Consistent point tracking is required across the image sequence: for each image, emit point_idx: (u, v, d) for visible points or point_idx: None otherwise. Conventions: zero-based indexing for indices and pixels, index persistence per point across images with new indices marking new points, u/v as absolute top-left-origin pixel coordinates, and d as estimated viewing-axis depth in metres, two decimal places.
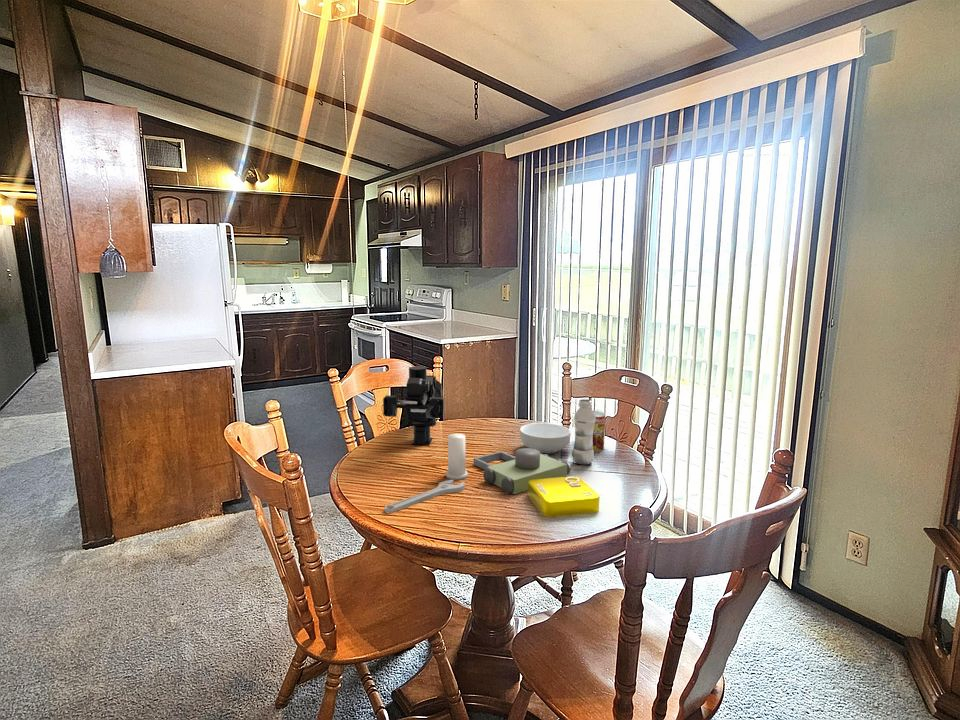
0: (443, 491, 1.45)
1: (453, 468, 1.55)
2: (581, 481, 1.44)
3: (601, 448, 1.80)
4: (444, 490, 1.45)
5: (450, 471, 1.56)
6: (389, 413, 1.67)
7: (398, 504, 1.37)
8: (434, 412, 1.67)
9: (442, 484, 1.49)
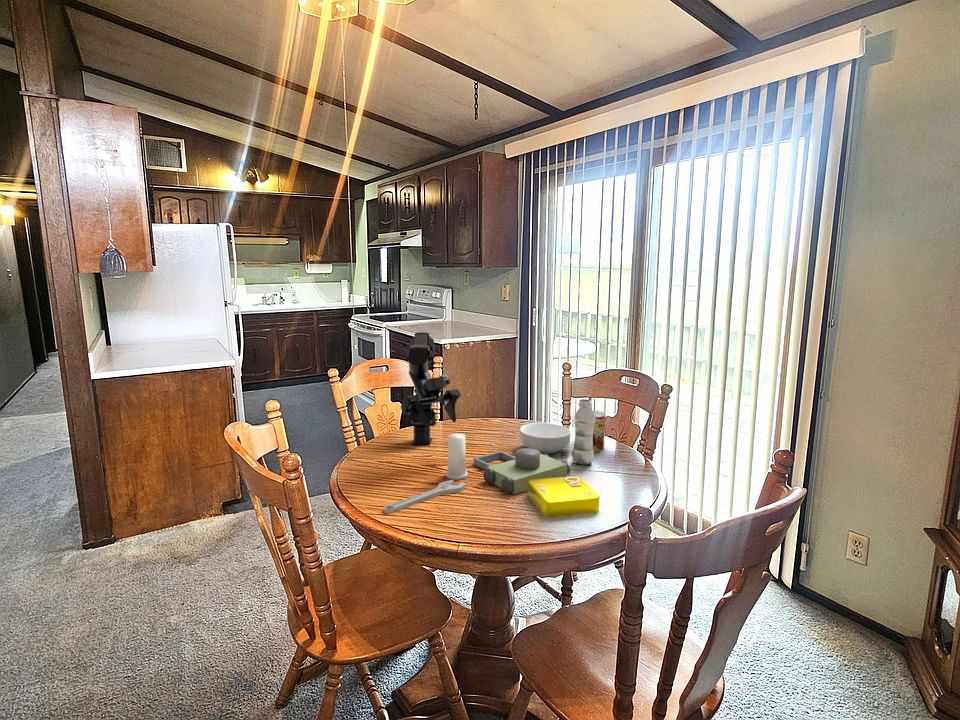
0: (443, 491, 1.45)
1: (453, 468, 1.55)
2: (581, 481, 1.44)
3: (601, 448, 1.80)
4: (444, 490, 1.45)
5: (450, 471, 1.56)
6: (410, 413, 1.61)
7: (397, 504, 1.37)
8: None
9: (442, 484, 1.49)
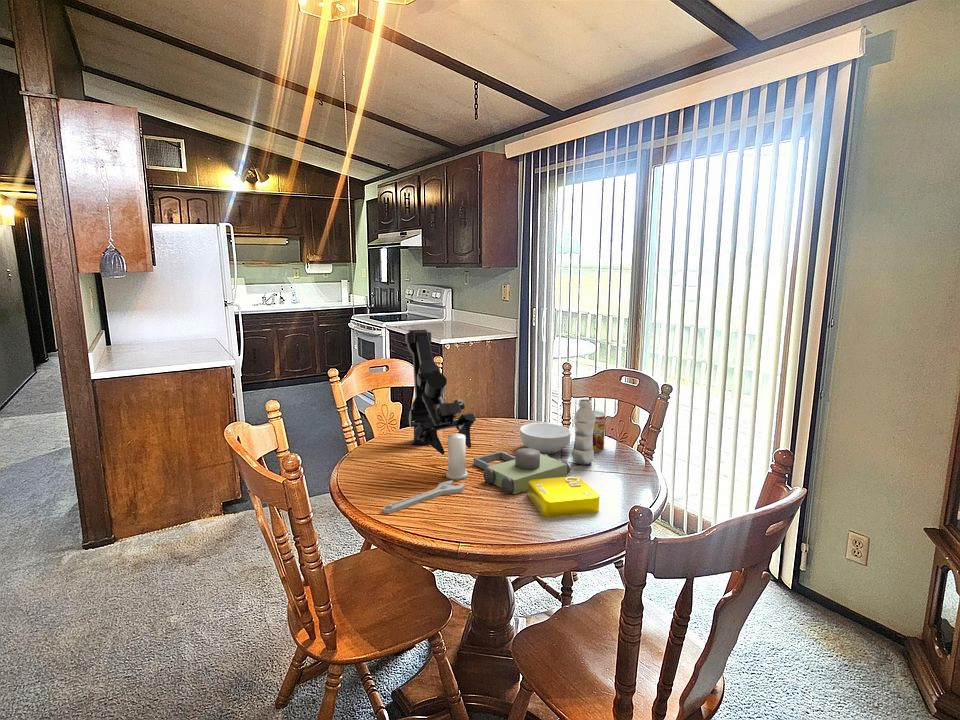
0: (442, 492, 1.45)
1: (453, 468, 1.55)
2: (581, 481, 1.44)
3: (601, 448, 1.80)
4: (443, 491, 1.45)
5: (450, 471, 1.56)
6: (424, 439, 1.56)
7: (396, 504, 1.37)
8: None
9: (442, 485, 1.48)
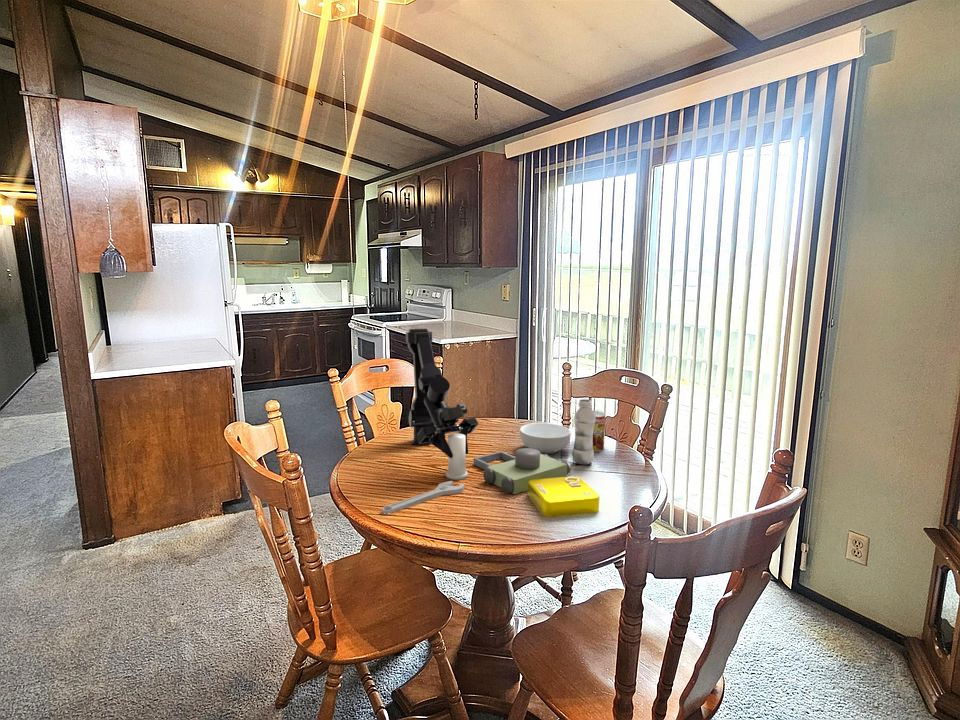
0: (442, 492, 1.44)
1: (453, 468, 1.55)
2: (581, 481, 1.44)
3: (601, 448, 1.80)
4: (443, 491, 1.44)
5: (450, 471, 1.56)
6: (432, 442, 1.57)
7: (396, 505, 1.36)
8: None
9: (441, 485, 1.48)
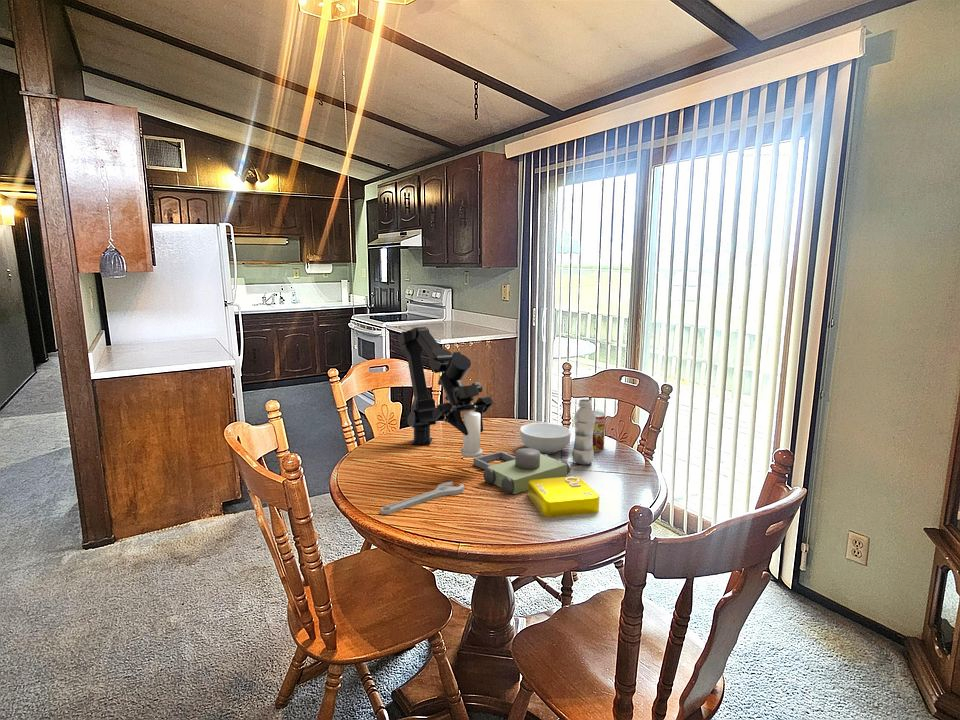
0: (441, 493, 1.44)
1: (468, 445, 1.57)
2: (581, 481, 1.44)
3: (601, 448, 1.80)
4: (442, 492, 1.44)
5: (465, 448, 1.58)
6: (448, 420, 1.59)
7: (395, 505, 1.36)
8: None
9: (441, 486, 1.47)
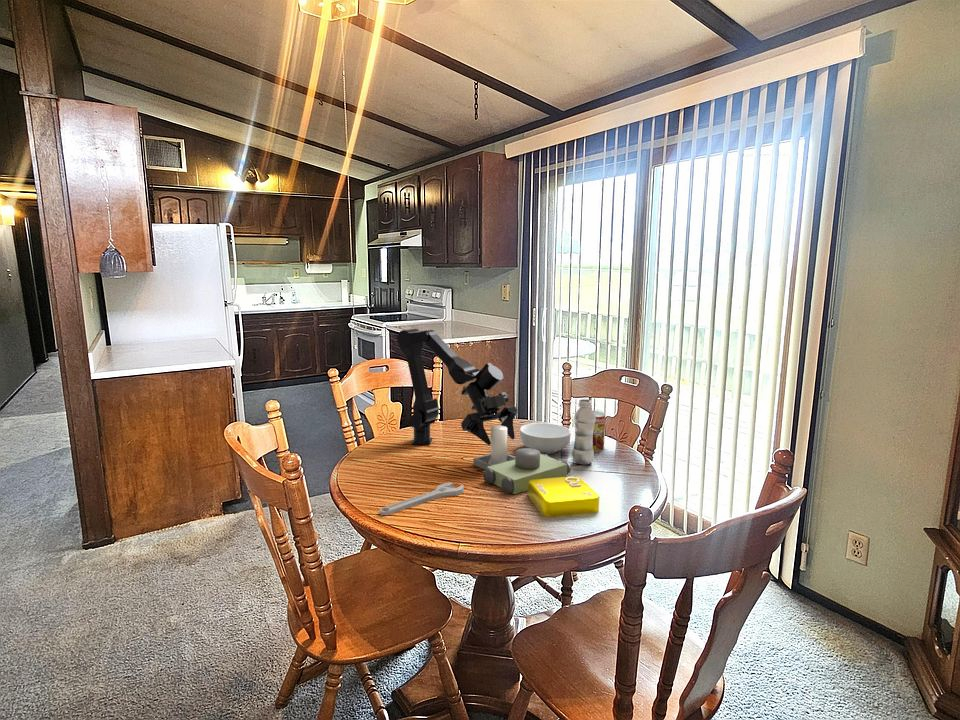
0: (441, 494, 1.43)
1: (496, 458, 1.63)
2: (581, 481, 1.44)
3: (601, 448, 1.80)
4: (442, 493, 1.43)
5: (493, 461, 1.64)
6: (471, 430, 1.64)
7: (394, 506, 1.36)
8: None
9: (440, 487, 1.47)
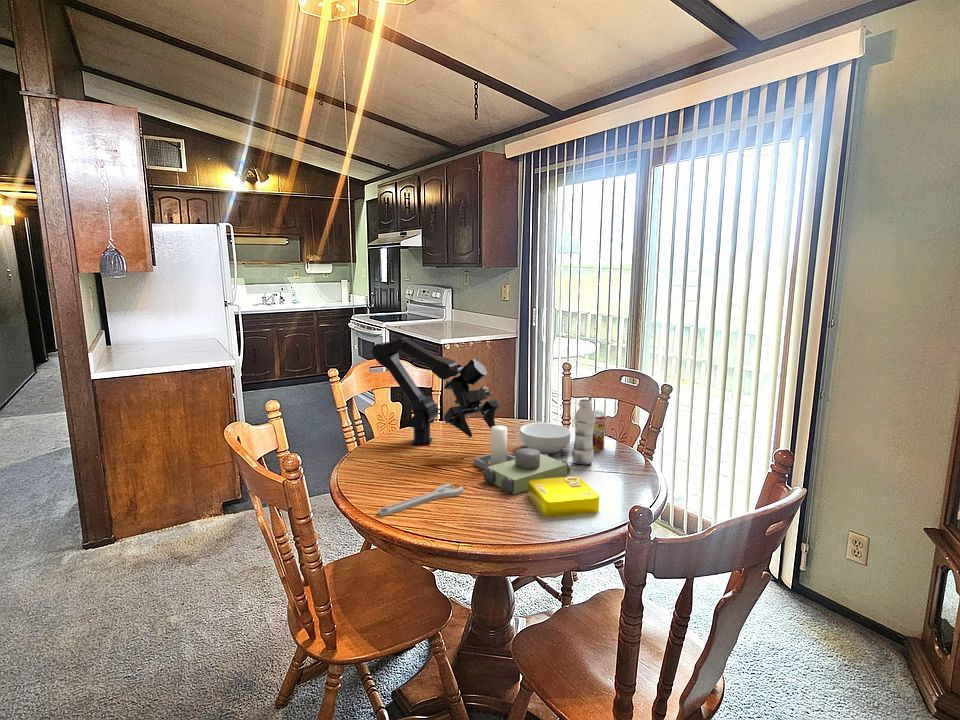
0: (440, 495, 1.43)
1: (496, 458, 1.63)
2: (581, 481, 1.44)
3: (601, 448, 1.80)
4: (441, 494, 1.43)
5: (493, 461, 1.64)
6: (453, 423, 1.71)
7: (392, 507, 1.35)
8: None
9: (440, 488, 1.46)
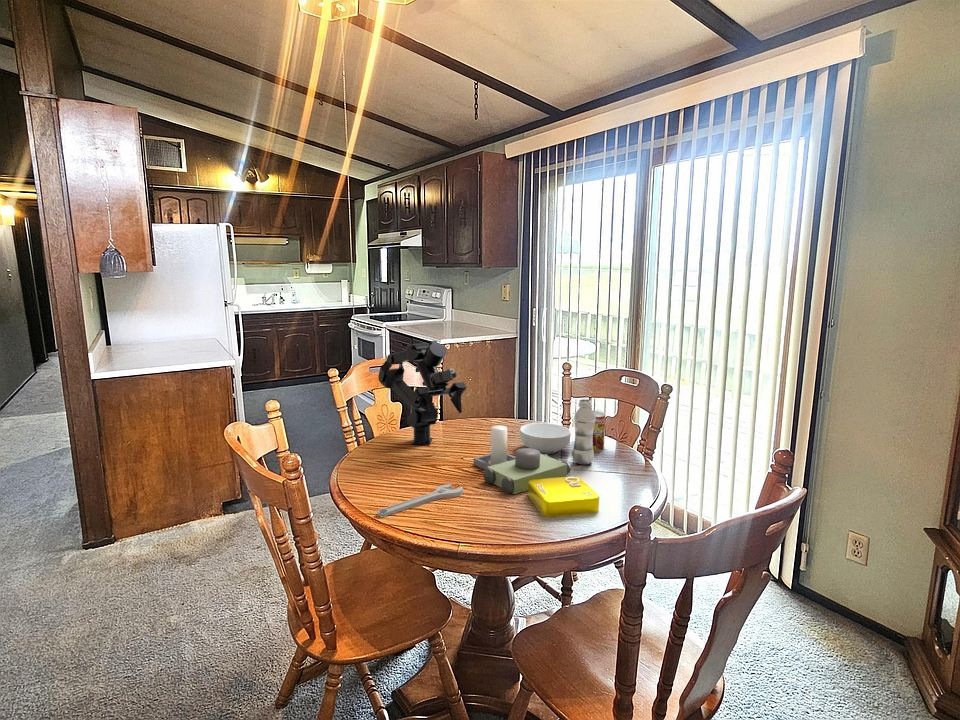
0: (439, 496, 1.42)
1: (496, 458, 1.63)
2: (581, 481, 1.44)
3: (601, 448, 1.80)
4: (441, 495, 1.42)
5: (493, 461, 1.64)
6: (419, 404, 1.72)
7: (392, 508, 1.35)
8: None
9: (439, 488, 1.46)
